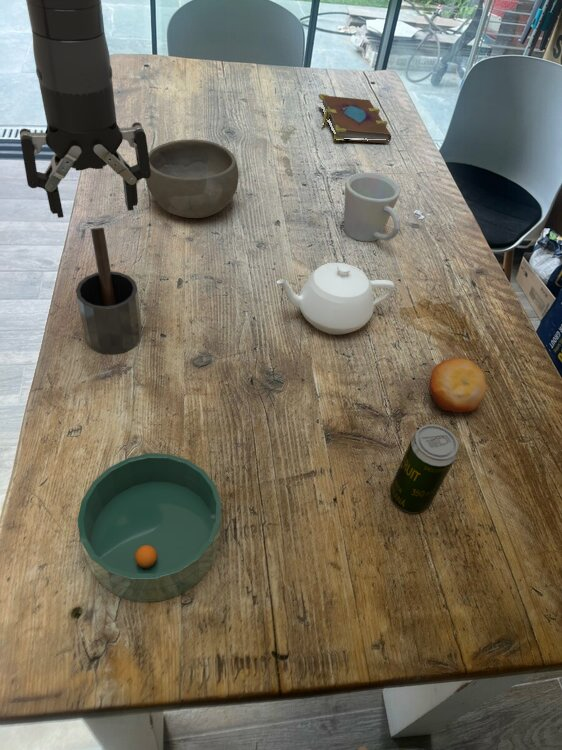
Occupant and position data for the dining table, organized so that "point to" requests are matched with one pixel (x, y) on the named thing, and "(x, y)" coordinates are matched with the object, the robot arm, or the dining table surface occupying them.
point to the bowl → (192, 177)
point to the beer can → (423, 468)
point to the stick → (103, 266)
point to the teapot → (338, 297)
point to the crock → (110, 314)
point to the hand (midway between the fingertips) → (95, 210)
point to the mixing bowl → (151, 526)
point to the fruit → (457, 385)
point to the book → (354, 119)
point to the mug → (370, 206)
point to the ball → (146, 556)
